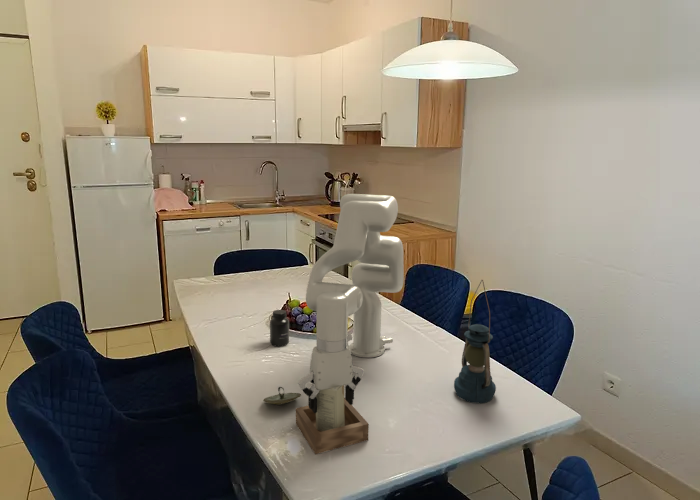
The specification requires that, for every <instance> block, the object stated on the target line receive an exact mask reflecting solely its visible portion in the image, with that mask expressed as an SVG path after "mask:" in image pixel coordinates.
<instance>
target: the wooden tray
mask: <svg viewBox="0 0 700 500" xmlns="http://www.w3.org/2000/svg"><path fill="white" fill-rule="evenodd" d="M344 416H345V426H343V427H339V428H335V429H330V430H326V431H320V430H317V429H316V413H314V412H313V411H312V410H311V409H310V408H309V405H304V406H301V407H300V406H299V407H296V408H295V425H296V427H297V428H298V430H299V432H300V433H301V435H302V436H303V437H304V439H305V441H306V442H307V443H308V445H309V447H310V448H311V450H312V452H313V453H314V455H318V454H322V453H326V452H329V451H333V450H337V449H340V448H345V447H348V446H351V445H355V444H360V443H363V442H367V441H369V432H370V431H369V429H370V427H369V426H370V425H369V422H368V421H367V420H366V419H365V418H364V417H363V416H362V415H361V413H360V412H359V411H358V410H357V409H356V408H355V407H354V406H353V404H352V405H350V404H349V403H348V402H347V401H346V400H345V396H344Z"/></svg>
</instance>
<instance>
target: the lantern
mask: <svg viewBox="0 0 700 500" xmlns="http://www.w3.org/2000/svg"><path fill="white" fill-rule="evenodd" d="M481 284H482V285H483V290H484V294H485V299H486V303H487V308H488V309H487V310H488V312H489V313H488V317H489V319H488V323H489V324H488V327H487V326H486V325H483V324H479V323H476V324H471V325H468V330H467V331H465V332H464V334H463V336H464V337H465V341H464V347H463V350H462V351H463V352H462V357H461V369H460V371H459V373H458V376H457V377H456V378H455V379H454V382H453V387H454V392H455V394H456V397H458V398H459V399H461V400H462V401H464V402H468V403H473V404H485V403H489V402H491V401H492V399H493V398H494V396H495V394H496V391H497V387H496V384H495V382H494V381H493V377H492V375H491V374H492V373H491V362H490V360H491V358H490V347H489V343H490V342H491V341H492V340H493V338H494V337H493V335H492V333H490V332H491V330H490V329H491V310H490V306H489V301H488V297H487V292H486V288H485V287H486V286H485V284H484V279H481V280H480V282H479V284H478V286H477V288H476V289H475V292H474V294H473V296H472V298H471V301H470V307H469V317H468V324H470V323H471V322H470V321H471V312H472V303H473V301H474V297H475V295H476V294H477V292H478V289H479V288H480V286H481Z"/></svg>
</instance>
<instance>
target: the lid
mask: <svg viewBox="0 0 700 500" xmlns="http://www.w3.org/2000/svg"><path fill="white" fill-rule="evenodd" d="M277 390H278V393H277V394H275V395H271V396H268V397H265V398H264V399H263V400H262V401H263V402H264V403H267V404H271V405H277V406H278V405H279V406H280V405H285V404H287V403H290V402H293V401H295V400H297V399H298V398H300V397H301V396H302V393H299V392H286V393H285V392H283V393H281V392H280V390H283V391H285V389H284V387H282V386H279V387H278V388H277Z"/></svg>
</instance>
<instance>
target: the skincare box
mask: <svg viewBox="0 0 700 500" xmlns="http://www.w3.org/2000/svg"><path fill="white" fill-rule="evenodd" d="M315 397H316V398H317V413H316V429H317V430H320V431H326V430H330V429H335V428H339V427H343V426H345V416H344V397H345V385H343V386H338V387H333V388H329V389H325V390H320V391H319V392H318V394H317V395H316V396H315Z"/></svg>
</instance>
